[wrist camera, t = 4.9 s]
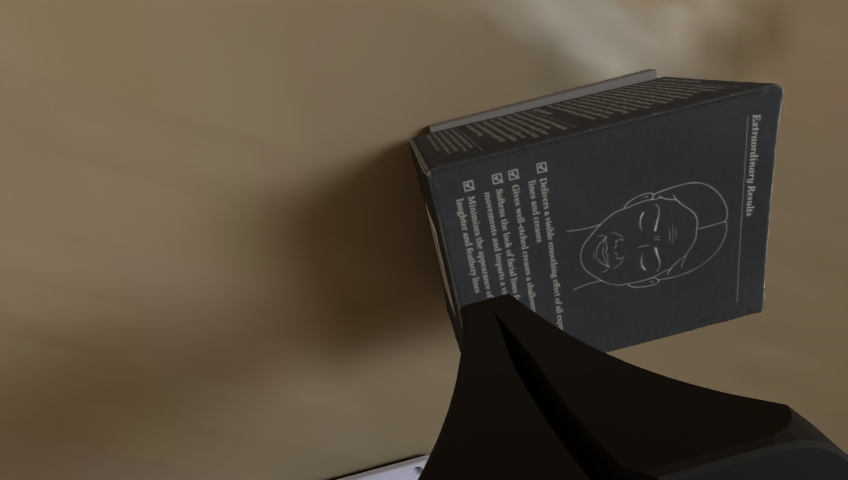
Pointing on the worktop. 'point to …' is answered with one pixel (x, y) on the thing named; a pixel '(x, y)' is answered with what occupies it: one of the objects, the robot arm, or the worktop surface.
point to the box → (610, 208)
